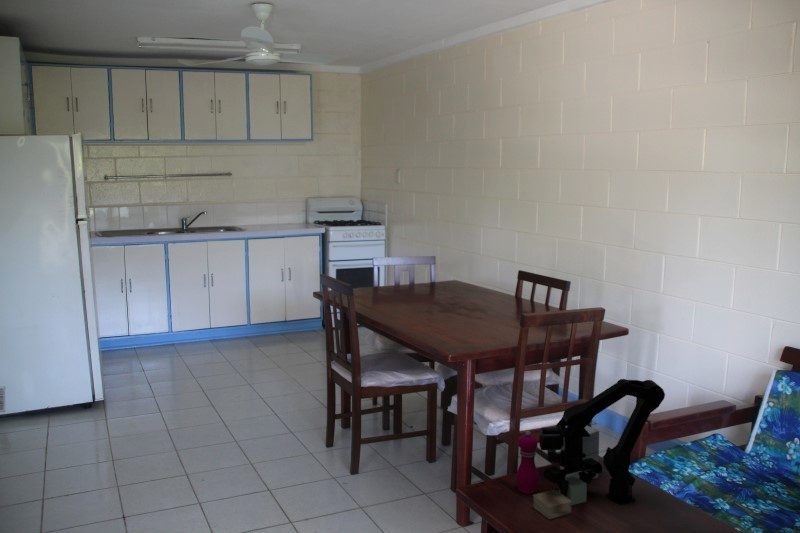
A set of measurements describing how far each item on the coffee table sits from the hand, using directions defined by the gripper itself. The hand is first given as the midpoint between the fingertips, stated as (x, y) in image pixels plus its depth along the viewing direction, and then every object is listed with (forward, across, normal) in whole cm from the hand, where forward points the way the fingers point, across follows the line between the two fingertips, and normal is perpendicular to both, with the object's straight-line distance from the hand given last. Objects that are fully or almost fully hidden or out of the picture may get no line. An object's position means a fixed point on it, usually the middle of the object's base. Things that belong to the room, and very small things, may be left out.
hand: (572, 496), depth 211 cm
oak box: (+1, +10, +3) cm, 10 cm away
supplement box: (+1, -12, -12) cm, 17 cm away
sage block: (+1, 0, 0) cm, 1 cm away
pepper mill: (+1, +9, -12) cm, 15 cm away
